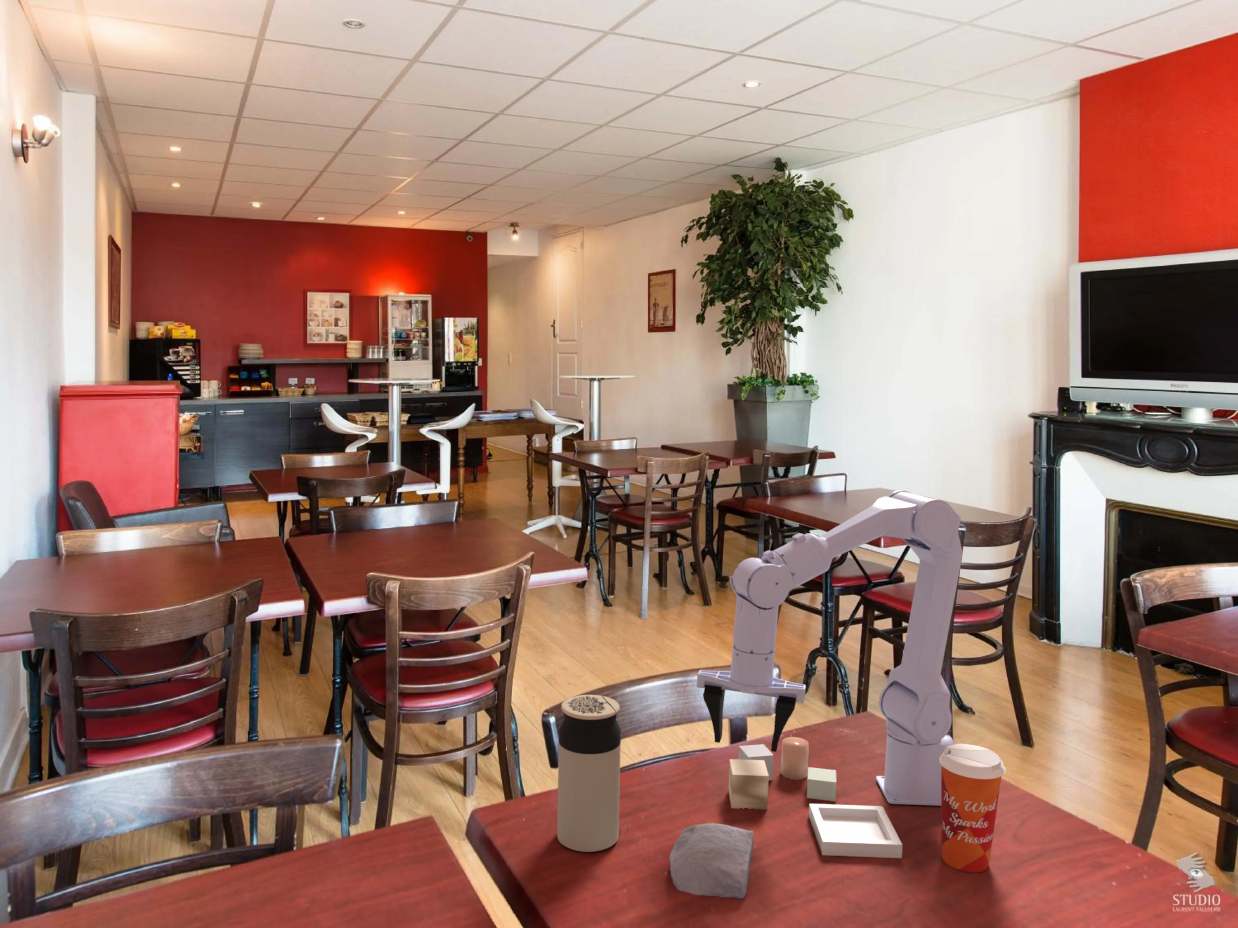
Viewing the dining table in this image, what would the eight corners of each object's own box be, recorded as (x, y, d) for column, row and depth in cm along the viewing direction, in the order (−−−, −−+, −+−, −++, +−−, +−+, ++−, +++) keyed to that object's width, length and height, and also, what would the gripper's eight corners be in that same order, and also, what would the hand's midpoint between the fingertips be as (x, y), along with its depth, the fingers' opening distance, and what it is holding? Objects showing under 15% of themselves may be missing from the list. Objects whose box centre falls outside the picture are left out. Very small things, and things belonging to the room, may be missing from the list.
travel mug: (561, 856, 114) (564, 718, 112) (553, 824, 122) (555, 695, 120) (624, 851, 116) (627, 714, 114) (611, 820, 123) (614, 691, 121)
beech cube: (762, 792, 132) (764, 760, 132) (767, 809, 127) (768, 775, 127) (728, 791, 133) (729, 758, 132) (731, 808, 128) (732, 774, 127)
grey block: (762, 768, 140) (763, 744, 140) (772, 780, 136) (773, 755, 136) (737, 770, 139) (739, 745, 139) (747, 782, 136) (748, 757, 135)
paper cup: (932, 869, 113) (939, 761, 111) (933, 839, 120) (940, 737, 119) (1000, 883, 110) (1008, 773, 109) (997, 851, 118) (1005, 747, 116)
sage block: (834, 789, 134) (835, 769, 134) (835, 802, 130) (836, 782, 130) (807, 786, 135) (808, 766, 135) (806, 798, 131) (807, 778, 131)
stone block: (668, 907, 107) (753, 902, 105) (661, 867, 107) (746, 862, 105) (682, 857, 119) (758, 852, 117) (676, 821, 119) (752, 815, 117)
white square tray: (881, 818, 125) (882, 806, 125) (901, 857, 116) (902, 844, 115) (808, 815, 126) (809, 803, 126) (822, 854, 116) (823, 841, 116)
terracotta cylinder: (804, 768, 141) (806, 737, 140) (809, 780, 137) (811, 748, 136) (778, 767, 141) (780, 736, 140) (782, 779, 137) (784, 747, 136)
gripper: (696, 648, 121) (688, 746, 123) (806, 663, 118) (797, 764, 119) (704, 634, 128) (697, 727, 130) (809, 648, 125) (801, 744, 126)
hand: (746, 744), depth 125 cm, fingers open, 7 cm apart
